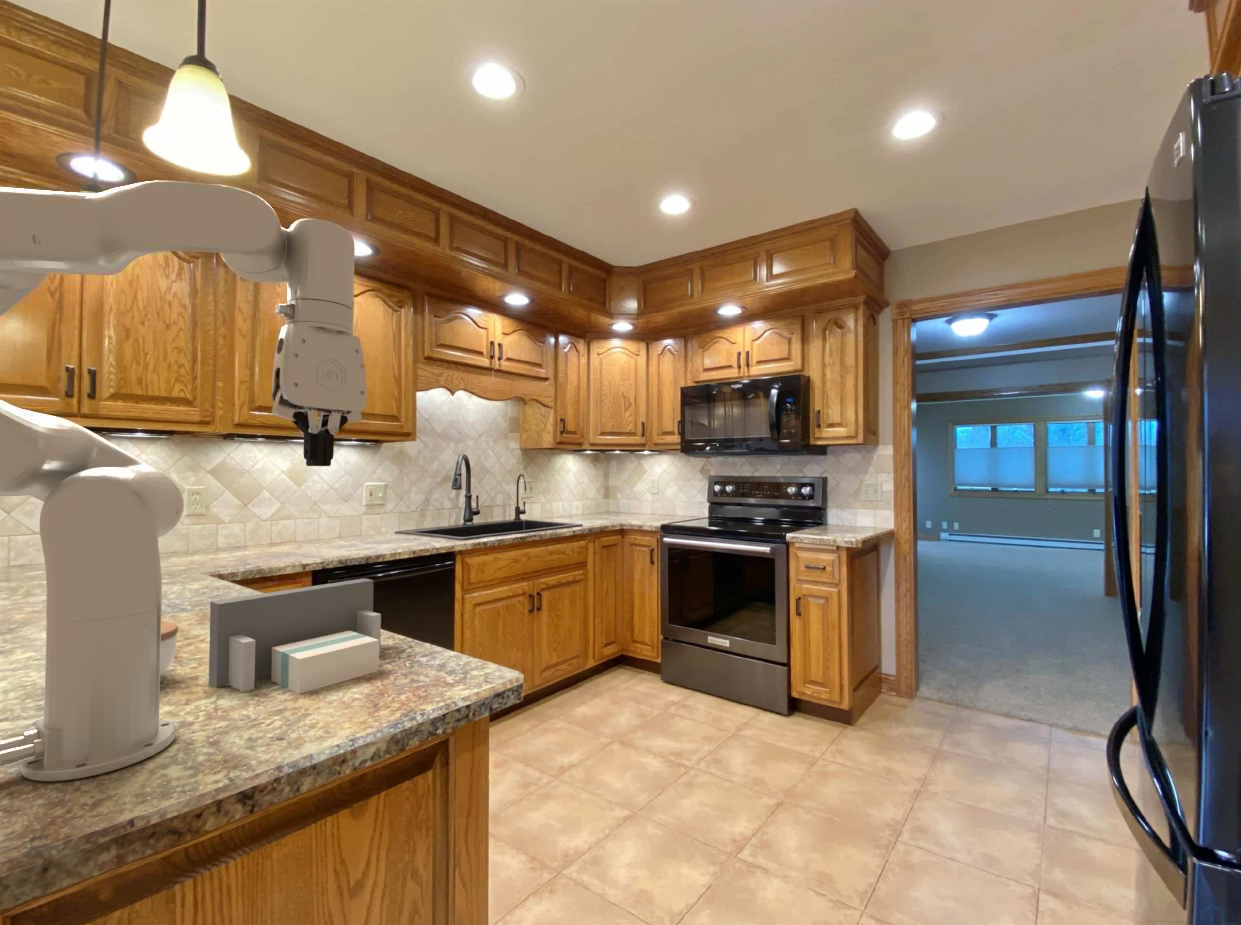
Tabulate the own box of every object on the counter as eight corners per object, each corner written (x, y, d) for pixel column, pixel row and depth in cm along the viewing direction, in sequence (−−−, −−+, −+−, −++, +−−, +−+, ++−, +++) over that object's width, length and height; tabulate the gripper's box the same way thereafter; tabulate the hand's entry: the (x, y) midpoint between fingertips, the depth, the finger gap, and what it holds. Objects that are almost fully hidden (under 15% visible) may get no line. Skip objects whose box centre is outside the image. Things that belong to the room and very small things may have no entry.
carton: (298, 694, 81) (299, 658, 81) (271, 680, 86) (271, 647, 86) (378, 671, 90) (379, 639, 90) (349, 660, 96) (349, 630, 96)
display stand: (230, 695, 80) (232, 609, 80) (208, 682, 84) (210, 601, 85) (388, 652, 99) (389, 583, 99) (363, 644, 104) (364, 578, 104)
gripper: (270, 303, 65) (267, 464, 64) (391, 330, 77) (389, 466, 76) (242, 313, 69) (239, 465, 69) (361, 338, 81) (359, 467, 81)
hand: (318, 465), depth 73 cm, fingers closed
